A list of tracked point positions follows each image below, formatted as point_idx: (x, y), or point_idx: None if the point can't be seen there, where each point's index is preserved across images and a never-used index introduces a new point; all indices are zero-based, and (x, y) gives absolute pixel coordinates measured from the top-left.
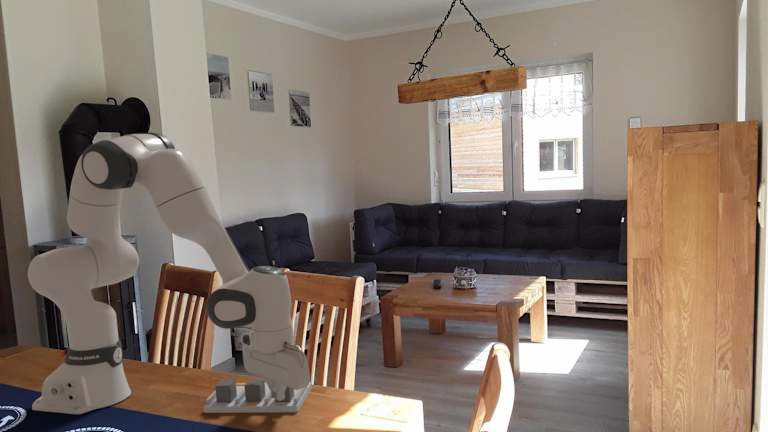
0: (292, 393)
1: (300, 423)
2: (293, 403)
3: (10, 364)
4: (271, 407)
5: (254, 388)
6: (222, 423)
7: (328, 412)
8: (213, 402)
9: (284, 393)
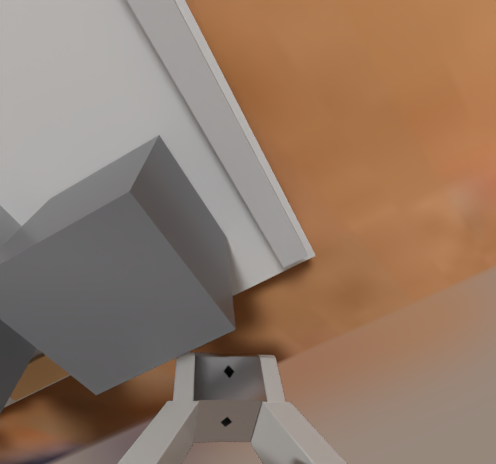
0: (185, 192)
1: (386, 298)
2: (264, 241)
3: None
4: None
5: None
6: (62, 443)
7: (480, 131)
8: None
9: (280, 385)
